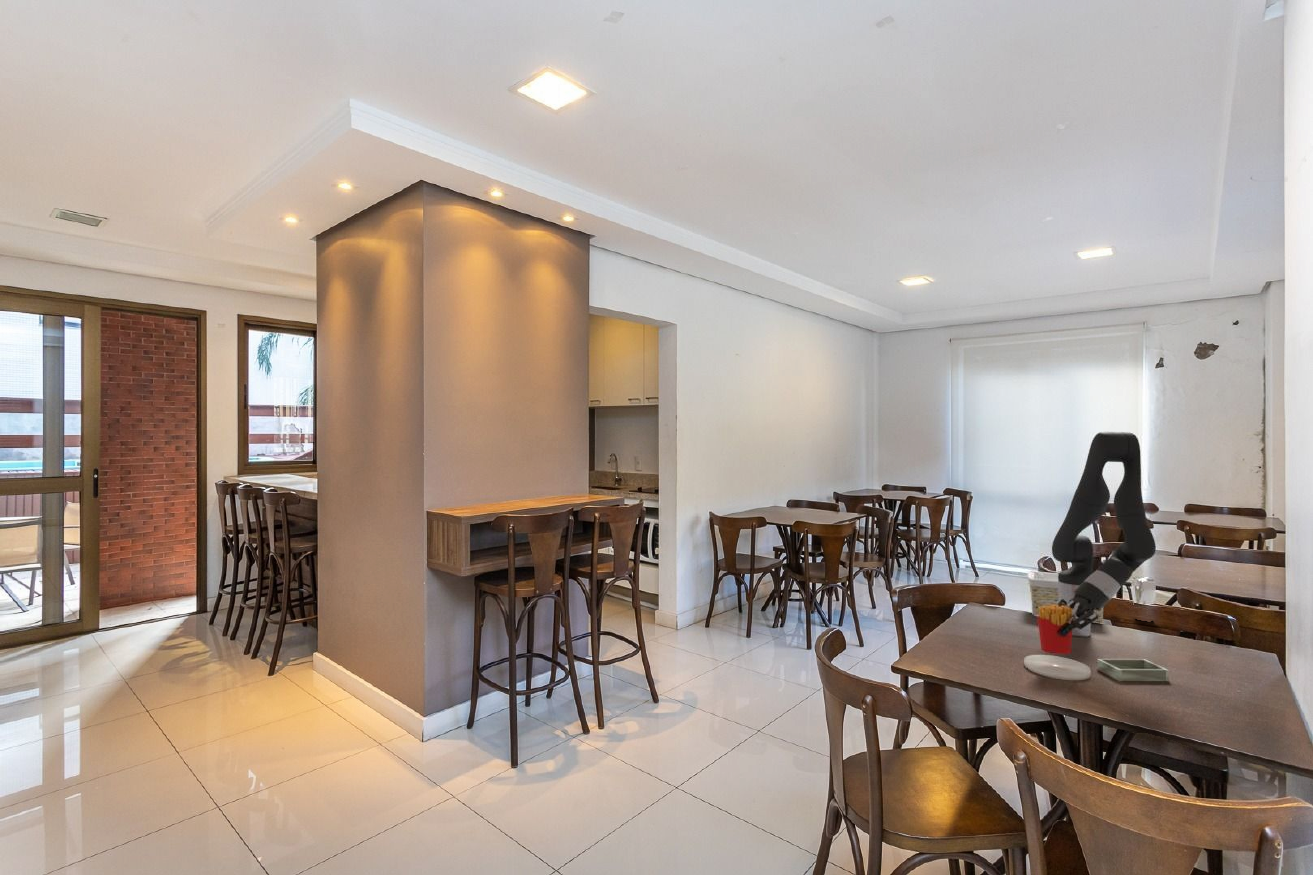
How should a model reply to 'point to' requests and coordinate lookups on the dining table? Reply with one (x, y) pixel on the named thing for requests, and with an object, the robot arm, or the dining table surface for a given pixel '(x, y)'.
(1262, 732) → the dining table surface
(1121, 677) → the open rectangular box
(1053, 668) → the ceramic plate
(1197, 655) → the dining table surface
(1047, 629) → the french fries
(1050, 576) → the storage basket
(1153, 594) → the beer glass
